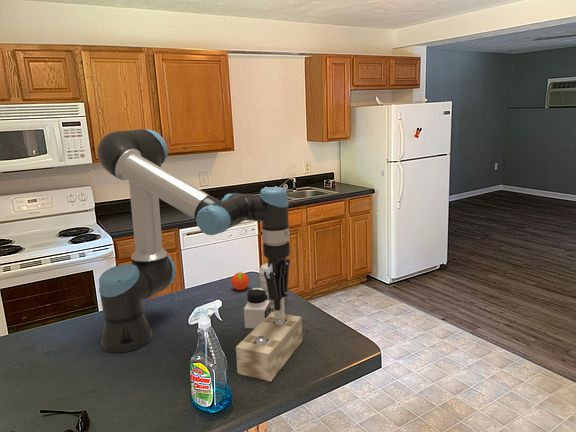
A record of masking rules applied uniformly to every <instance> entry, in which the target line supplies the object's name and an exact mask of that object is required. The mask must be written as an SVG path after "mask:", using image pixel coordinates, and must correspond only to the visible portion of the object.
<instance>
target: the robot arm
mask: <svg viewBox="0 0 576 432" xmlns="http://www.w3.org/2000/svg"><path fill="white" fill-rule="evenodd" d="M96 152H97V158H98V161H99V163H100V165H101V167H103V169H105V170H106V172H108V173H109V174H110V175H111V176H113V177H115V178H117V179H118V180H120V181H128V184H129V185H128V186H129V187H128V188H129V194H130V196H129V197H130V206H131V216H132V227H133V239H134V241H133V242H134V248H135V250H134V252H133V253H132V254H131V256H130V259H131V263H124V264H119V265H115V266H112V267H110V268H108V269H106V270H105V271H104V272H103V273H101V274H100V276H99V279H98V285H99V287H98V291H99V292H98V293H99V296H100V302H101V307H102V314H103V321H104V323H103V327H102V328H103V329H102V335H101V337H100V341H101V342H100V343H101V348H102V350H104V351H106V352H108V353H115V354H116V353H117V354H119V353H120V354H121V353H127V352H131V351H135V350H137V349H140V348H142V347H145V345H147V344H148V343H150V342H151V341H152V338H153V329H152V327H151V325H150V322H149V321H148V319H147V317H146V315H145V312H144V304H143V302H144V301H145V300H148V299H149V298H151V297H152V296H154V295H156V294H158V293H159V292H162V291H164V290H165V289H166V288H167V289H168V287H169V286H171V284H172V283H173V282H174V281H175V278H176V276H177V275H176V274H177V269H176V268H177V267H176V264H175V262H174V261H173V260H172V259H173V258H171V256H169V255H168V254H169V253H168V251H166V249H164V247H163V238H162V225H161V214H160V212H161V211H160V200H162V201H163V202H165V203H167V204H168V205H170V206H172V207H174V208H175V209H177V210H179V211H180V212H182V213H184V214H185V215H187V216H188V217H191V218H192V219H194V220H195V221H196V226H197V227H198V228H199V229H200V231H201V232H202V233H203V234H205V235H207V236H214V235H218V234H221V233H224V232H226V231H227V230H229V229H231V228H233V227H234V226H237V225H239V224H241V223H243V222H245V221H247V222H248V221H250V222H251V221H252V222H253V221H254V222H261V231H262V242H263V245H262V247H263V248H262V250H263V256H264V257H265V258H267V259H268V261H267V263H268V268H269V269H268V271H267V272H264V276H265V278H266V283H267V288H268V294H269V299H270V300H274V309H273V312H274V317H275V319H279V320H284V319H285V314H286V312H285V311H286V309H285V298H288V294H287V292H288V289H289V287H288V286H289V270H290V269H289V268H290V263H291V259H290V258H289V259H288V257H289V256H290V254H291V248H290V247H291V245H290V235H291V232H290V228H289V226H290V225H289V200H288V191H287V189H285V188H284V187H280V186H273V187H272V186H271V187H270V186H269V187H264V188H261V189H260V192H259V194H250V193H238V192H235V193H227V194H225V195H224V196H223V198H222V199H221V200H219V199H217V198H215V197H214V196H212V195H210V194H208V193H207V192H204V191H203V190H202V189H199V188H198V187H196V186H194V185H193V184H190V183H189V182H188V181H185V180H184V179H182V178H181V177H179V176H177V175H175V174H173V173H172V172H169V171H168V170H166V169H164V168H163V167H162V165H163V164H164V163H165V162H166V159H167V158H168V153H169V149H168V146H167V142H166V141H165V139H164V138H163V137H162V135H161V134H159V133H158V132H157V131H155V130H152V129H143V128H139V129H129V130H115V131H111V132H108V133H107V134H105V135H104V136H103V137H102V138H101V140H100V141H99V143H98V145H97V151H96Z"/></svg>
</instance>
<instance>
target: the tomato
mask: <svg viewBox="0 0 576 432" xmlns="http://www.w3.org/2000/svg"><path fill="white" fill-rule="evenodd" d="M231 284H232V287H233V288H234V289H236V290H237V291H242V290H245V289H246V288H247V287H248V286H249V284H250V279H249V276H248V275H247V273H244V272H236V273H235V274H234V275H233V276H232V278H231Z"/></svg>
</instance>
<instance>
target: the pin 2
mask: <svg viewBox="0 0 576 432" xmlns="http://www.w3.org/2000/svg"><path fill="white" fill-rule="evenodd" d="M284 323H285V319H284V320H279V319H275V324H278V325H284Z"/></svg>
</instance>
